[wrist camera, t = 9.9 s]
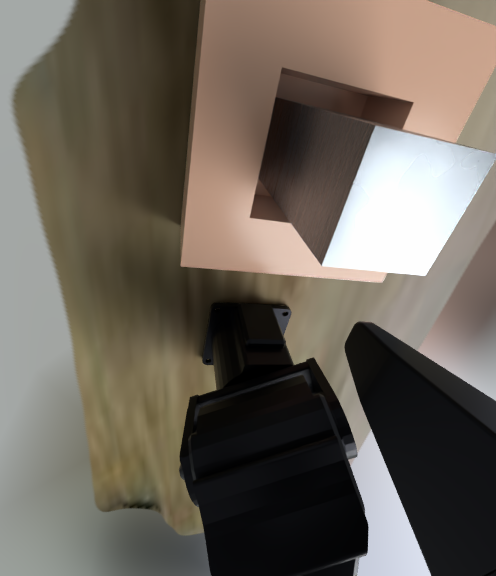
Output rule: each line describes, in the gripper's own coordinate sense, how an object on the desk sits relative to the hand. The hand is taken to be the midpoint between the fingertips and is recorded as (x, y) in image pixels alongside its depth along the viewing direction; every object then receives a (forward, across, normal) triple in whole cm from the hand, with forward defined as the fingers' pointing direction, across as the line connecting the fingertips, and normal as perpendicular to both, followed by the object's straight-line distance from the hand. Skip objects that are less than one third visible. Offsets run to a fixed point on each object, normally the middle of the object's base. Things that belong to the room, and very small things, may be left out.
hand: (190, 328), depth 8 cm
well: (+13, -6, -3) cm, 15 cm away
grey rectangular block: (+12, -6, -3) cm, 14 cm away
